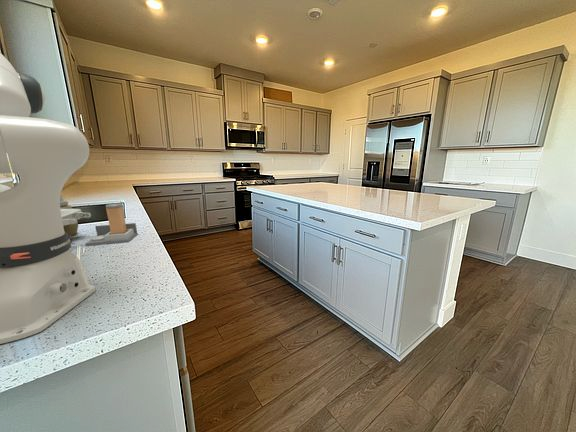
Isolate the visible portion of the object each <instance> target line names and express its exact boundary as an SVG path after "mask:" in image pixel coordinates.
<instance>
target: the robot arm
mask: <svg viewBox="0 0 576 432" xmlns="http://www.w3.org/2000/svg"><path fill="white" fill-rule="evenodd" d="M45 102H46V96H45V92H44V90H43V89H42V87H41V84H40V83H39V81H38V80H37V79H36V78H35V77H33V76H31V75H28V74H26V73H23V72H21V71H16V69H15V68H14V66H13V65H12V63H11V62H10V61H9V60H8V59H7V58H6V57H5V56H4V55H3V54H2V53H1V52H0V174H2V175H3V174H15V175H18V176H19V177H20V179H19V182H18V183H17V184H16V185H14V186H13V187H12V186H9V185H6V184H3V183H0V345H1V344H6V343H9V342H14V341H18V340H23V339H24V338H27V337H30V336H34V335H36V334H39V333H41V332H42V331H44V330H46V329H47V328H49V327H50V326H51V325H53V324H54V323H55V322H56V321H57V320H59V319H60V318H61V317H63V316H64V315H65V314H67V313H68V312H70V311H71V310H73V308H75V307H76V306H77V305H79V304H80V303H81V302H83V301H84V300H85V299H88V297H89V296H91V295H92V294H93V293H95V292H96V287H95V286H94V285H93V284H89V282H88V278H87V276H86V272H85V270H84V267H83V265H82V262H81V259H80V258H79V257H77V256H75V255H74V253H73V252H72V251H71V250H70V249H71V246H72V245H71V239H70V236H68V234H67V233H66V232H65V231H64V227H63V226H64V225H69V224H75V223H77V222H78V220H80V219H86V218H87V219H89V218H91V216H92V214H91V213H90V212H82V209H80V208H72V209H60V195H61V196H62V191H63V189H64V185H65V184H66V183H67V181H68V180H69V178H70V177H71V176H72V175H73V174H74V173H75V172H77V171H78V170H79V169H81V168H82V167H83V166H84V165H85V164H86V162H87V161H88V160H89V159H88V158H89V156H90V146H89V143H88V140H87V138H86V137H85V135H84V134H83V132H81V130H80V129H78V128H77V127H76V126H74V125H73V124H70V123H66V122H61V121H57V120H52V119H48V118H44V117H43V118H40V117H30V116H31V115H33V114H38V113H40V112H41V111H42V110H43V107H44V105H45Z"/></svg>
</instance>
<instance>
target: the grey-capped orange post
mask: <svg viewBox="0 0 576 432" xmlns="http://www.w3.org/2000/svg"><path fill="white" fill-rule="evenodd" d="M123 205H124V204H123V203H122V202H121V203H118V202H117V203H108V204H106V205H105V209H106V210H105V211H106V214H107V215H106V216H107V219H108V225H109V226H110V231H111V234H124V233H126V232H127V229H126V224H127V223H126V218H125V213H124V207H123Z"/></svg>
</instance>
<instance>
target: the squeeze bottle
mask: <svg viewBox="0 0 576 432" xmlns="http://www.w3.org/2000/svg"><path fill="white" fill-rule="evenodd" d="M60 209H73V206H71V205H69V201H68V200H64V198H63V196H62V194H61V195H60ZM63 227H64V231H65V232H66V233H67V234H68V237H72V236H74V235H77V234H78V228H79V223H78V222H77V223H75V224H69V225H64V226H63Z"/></svg>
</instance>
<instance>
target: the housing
mask: <svg viewBox="0 0 576 432" xmlns="http://www.w3.org/2000/svg"><path fill="white" fill-rule="evenodd" d="M94 227H95V231H96V236H92V237H90V240H89V241H87V242H85V245H84V246H86V247H89V246H100V245H102V244H103V245H110V244H111V245H112V244H113V243H114V244H123V242H125V243H130V242H131V241H132V240H133V239H135V238H136V236H137V235H138V230H137V224H136V222H131V223H126V229H127V232H126V233H124V234H111V231H110V226H109V224H103V225H95V226H94ZM129 241H130V242H129Z"/></svg>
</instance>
